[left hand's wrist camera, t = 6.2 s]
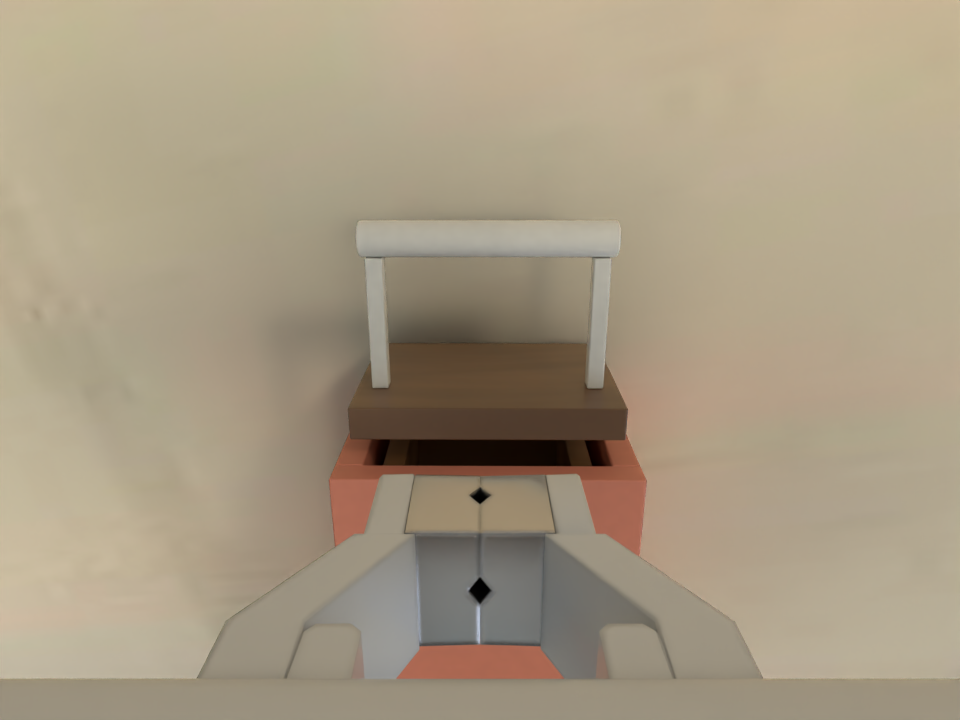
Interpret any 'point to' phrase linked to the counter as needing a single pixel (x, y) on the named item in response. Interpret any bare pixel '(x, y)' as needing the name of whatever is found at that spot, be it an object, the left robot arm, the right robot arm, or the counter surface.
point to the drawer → (487, 358)
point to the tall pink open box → (606, 483)
